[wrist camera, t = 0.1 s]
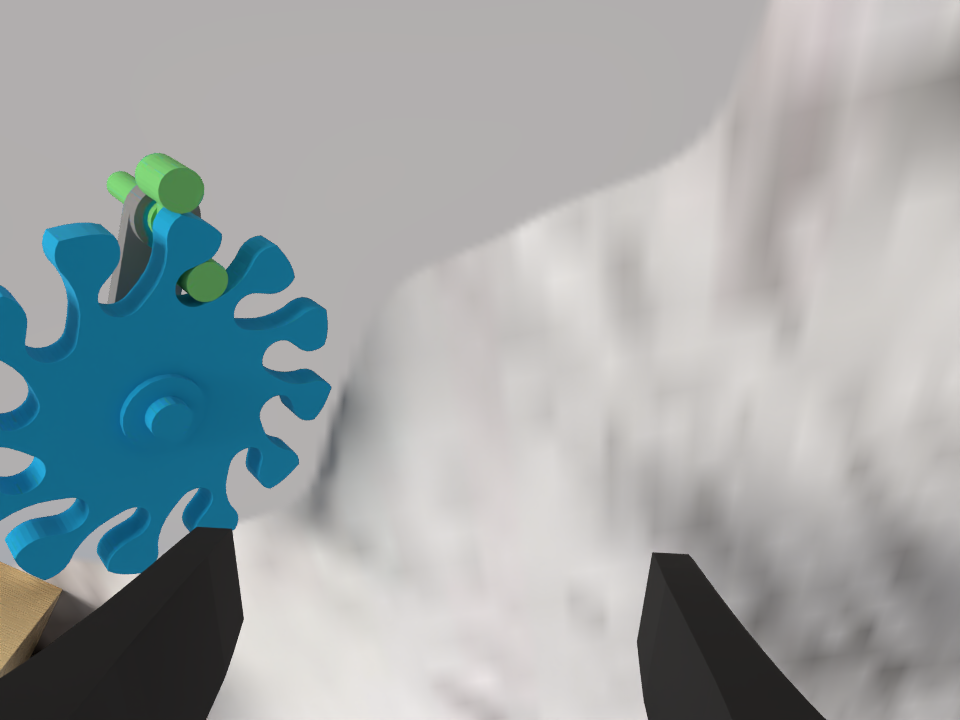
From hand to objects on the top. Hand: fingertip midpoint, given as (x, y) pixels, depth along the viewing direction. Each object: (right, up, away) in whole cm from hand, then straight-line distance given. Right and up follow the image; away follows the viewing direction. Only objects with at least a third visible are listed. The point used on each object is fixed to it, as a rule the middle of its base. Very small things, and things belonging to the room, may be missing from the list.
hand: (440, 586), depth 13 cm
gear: (-7, +5, +9) cm, 13 cm away
